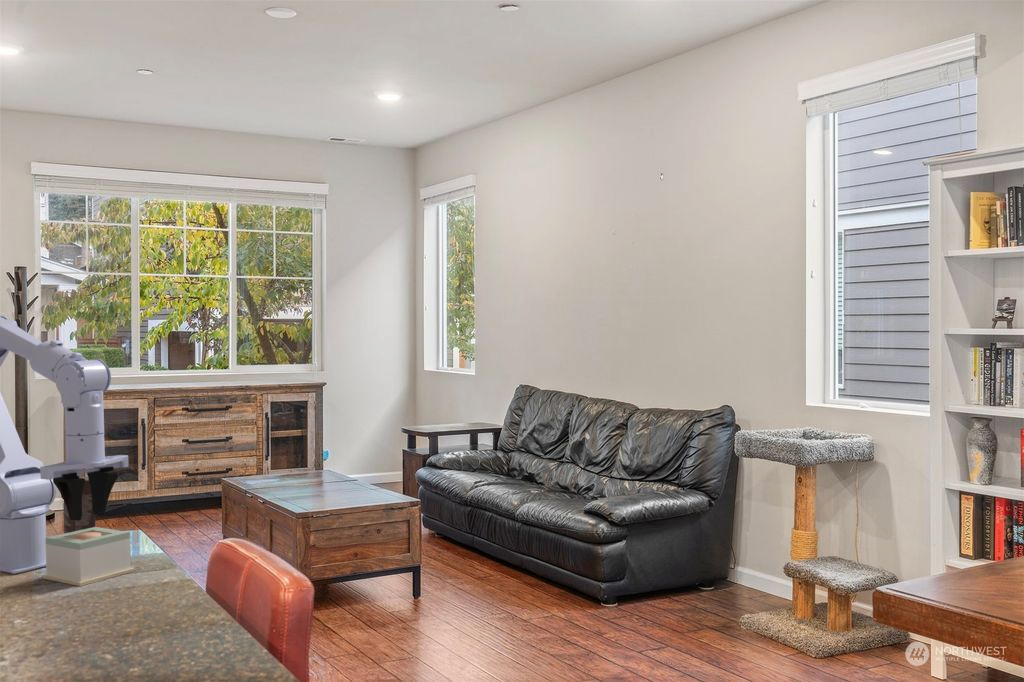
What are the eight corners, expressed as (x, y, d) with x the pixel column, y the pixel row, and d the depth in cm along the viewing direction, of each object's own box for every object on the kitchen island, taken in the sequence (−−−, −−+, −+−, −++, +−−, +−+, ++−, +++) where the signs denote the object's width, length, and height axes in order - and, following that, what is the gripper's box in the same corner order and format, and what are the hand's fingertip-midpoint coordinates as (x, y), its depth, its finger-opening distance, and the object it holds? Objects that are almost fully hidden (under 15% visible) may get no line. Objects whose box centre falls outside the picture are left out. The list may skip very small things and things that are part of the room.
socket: (41, 578, 151) (40, 538, 151) (97, 564, 160) (96, 526, 160) (79, 586, 146) (78, 544, 146) (135, 571, 155) (134, 531, 155)
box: (97, 542, 176) (95, 478, 176) (71, 546, 173) (69, 481, 173) (88, 537, 181) (86, 475, 181) (63, 541, 178) (61, 478, 178)
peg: (70, 573, 152) (69, 536, 152) (92, 567, 156) (91, 531, 156) (85, 576, 150) (84, 538, 150) (107, 570, 154) (106, 533, 154)
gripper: (58, 440, 144) (61, 528, 145) (139, 430, 157) (141, 511, 157) (31, 438, 148) (33, 523, 148) (112, 428, 160) (114, 507, 161)
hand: (87, 517), depth 153 cm, fingers open, 4 cm apart
